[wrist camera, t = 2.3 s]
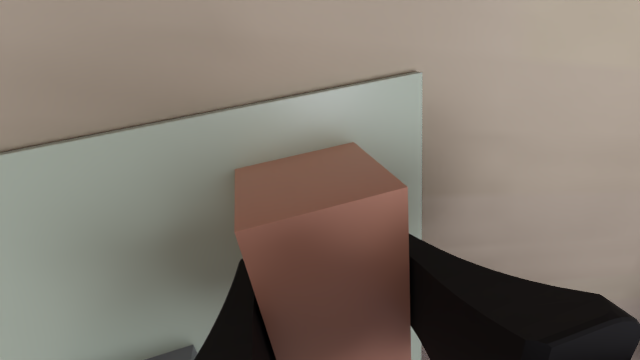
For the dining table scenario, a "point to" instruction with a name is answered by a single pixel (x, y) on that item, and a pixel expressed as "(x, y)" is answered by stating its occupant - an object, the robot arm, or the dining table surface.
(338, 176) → the terracotta brick
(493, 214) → the dining table surface
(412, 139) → the baseplate
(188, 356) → the grey base brick
